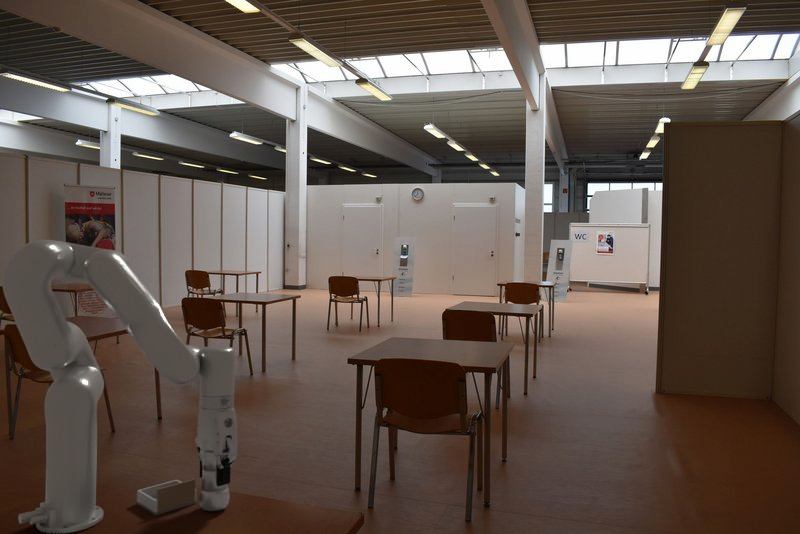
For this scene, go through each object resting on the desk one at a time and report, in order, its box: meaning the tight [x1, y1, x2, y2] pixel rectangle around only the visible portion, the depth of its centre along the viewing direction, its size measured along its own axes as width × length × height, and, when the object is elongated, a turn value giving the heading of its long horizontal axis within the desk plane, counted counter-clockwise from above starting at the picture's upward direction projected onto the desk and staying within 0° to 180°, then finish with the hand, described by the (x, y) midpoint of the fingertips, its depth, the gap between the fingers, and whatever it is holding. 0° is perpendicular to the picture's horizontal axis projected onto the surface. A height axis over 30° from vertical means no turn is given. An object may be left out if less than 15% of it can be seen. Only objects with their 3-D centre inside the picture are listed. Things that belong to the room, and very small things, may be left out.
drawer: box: [136, 478, 198, 516], centre depth 142 cm, size 10×9×6 cm
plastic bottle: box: [198, 438, 231, 512], centre depth 140 cm, size 6×7×20 cm
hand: (214, 479), depth 140 cm, fingers open, 6 cm apart
